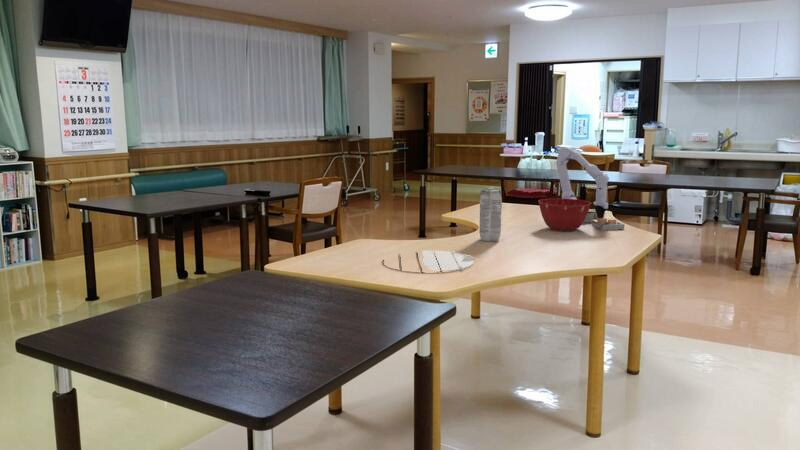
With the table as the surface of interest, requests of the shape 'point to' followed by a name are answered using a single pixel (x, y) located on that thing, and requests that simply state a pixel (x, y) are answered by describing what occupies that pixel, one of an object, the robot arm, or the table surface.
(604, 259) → the table surface
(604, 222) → the board
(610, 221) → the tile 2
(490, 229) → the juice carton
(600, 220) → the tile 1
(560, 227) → the mixing bowl
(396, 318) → the table surface
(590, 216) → the coffee box
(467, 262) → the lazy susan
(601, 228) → the tray
